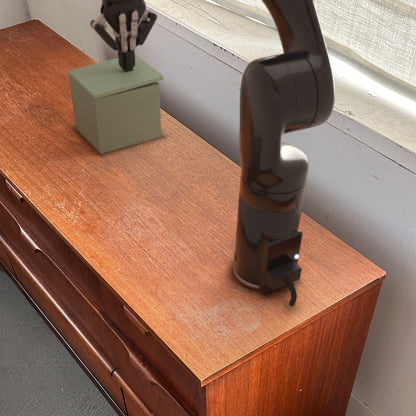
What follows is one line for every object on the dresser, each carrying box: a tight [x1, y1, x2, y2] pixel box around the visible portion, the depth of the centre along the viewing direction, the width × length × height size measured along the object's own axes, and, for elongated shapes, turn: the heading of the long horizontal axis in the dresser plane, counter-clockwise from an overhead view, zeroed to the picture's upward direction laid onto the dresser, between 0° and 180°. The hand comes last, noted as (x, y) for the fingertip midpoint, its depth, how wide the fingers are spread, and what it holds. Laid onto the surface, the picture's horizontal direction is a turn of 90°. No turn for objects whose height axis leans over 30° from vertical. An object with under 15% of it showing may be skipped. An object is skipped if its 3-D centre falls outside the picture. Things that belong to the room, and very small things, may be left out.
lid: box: [67, 53, 164, 99], centre depth 120 cm, size 14×12×1 cm
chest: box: [68, 75, 162, 155], centre depth 124 cm, size 14×12×11 cm
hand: (127, 69), depth 120 cm, fingers closed
